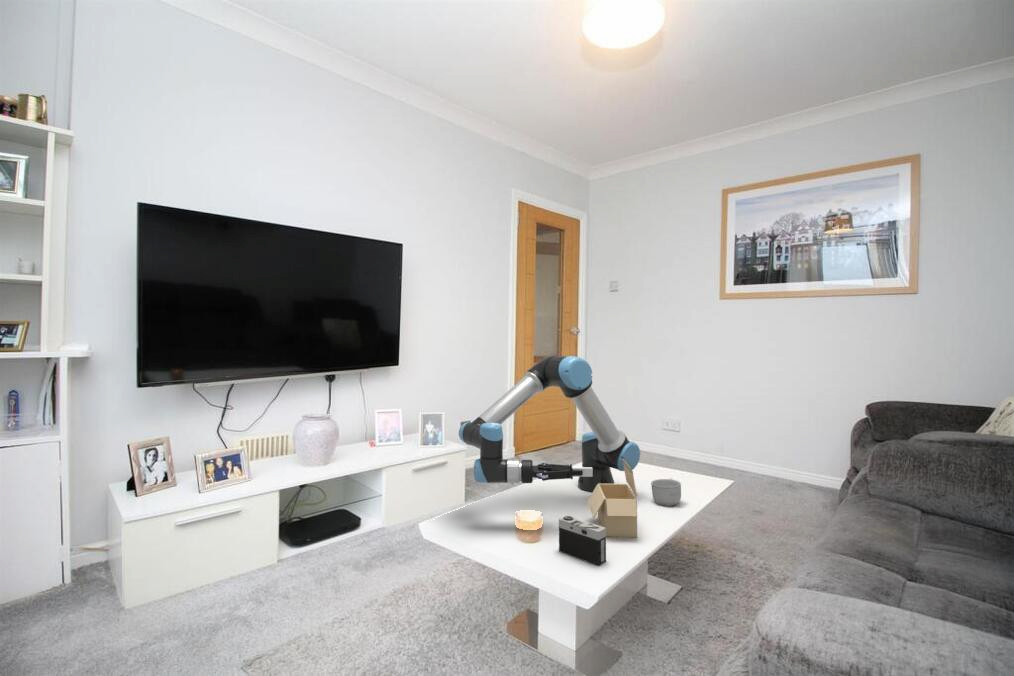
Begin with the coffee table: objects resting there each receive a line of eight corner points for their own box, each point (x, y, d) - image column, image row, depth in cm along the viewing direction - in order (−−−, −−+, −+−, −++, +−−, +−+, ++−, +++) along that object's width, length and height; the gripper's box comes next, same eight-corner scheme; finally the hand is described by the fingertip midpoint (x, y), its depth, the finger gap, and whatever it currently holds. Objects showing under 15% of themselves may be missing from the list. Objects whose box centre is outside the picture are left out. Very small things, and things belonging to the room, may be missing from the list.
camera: (614, 557, 139) (614, 522, 139) (598, 567, 133) (598, 530, 133) (574, 543, 148) (574, 510, 148) (557, 551, 143) (557, 517, 143)
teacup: (673, 510, 176) (673, 488, 176) (646, 503, 184) (646, 482, 184) (689, 500, 187) (689, 479, 187) (662, 494, 194) (662, 474, 194)
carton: (594, 540, 150) (594, 501, 150) (586, 515, 171) (586, 481, 171) (639, 541, 149) (638, 502, 149) (625, 516, 170) (625, 481, 171)
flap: (636, 496, 152) (631, 471, 152) (626, 481, 168) (622, 458, 168) (637, 496, 152) (632, 470, 152) (627, 481, 168) (623, 458, 168)
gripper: (521, 477, 168) (590, 477, 166) (520, 488, 155) (594, 489, 153) (521, 455, 168) (590, 455, 166) (520, 465, 155) (594, 465, 153)
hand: (592, 472), depth 160 cm, fingers closed
